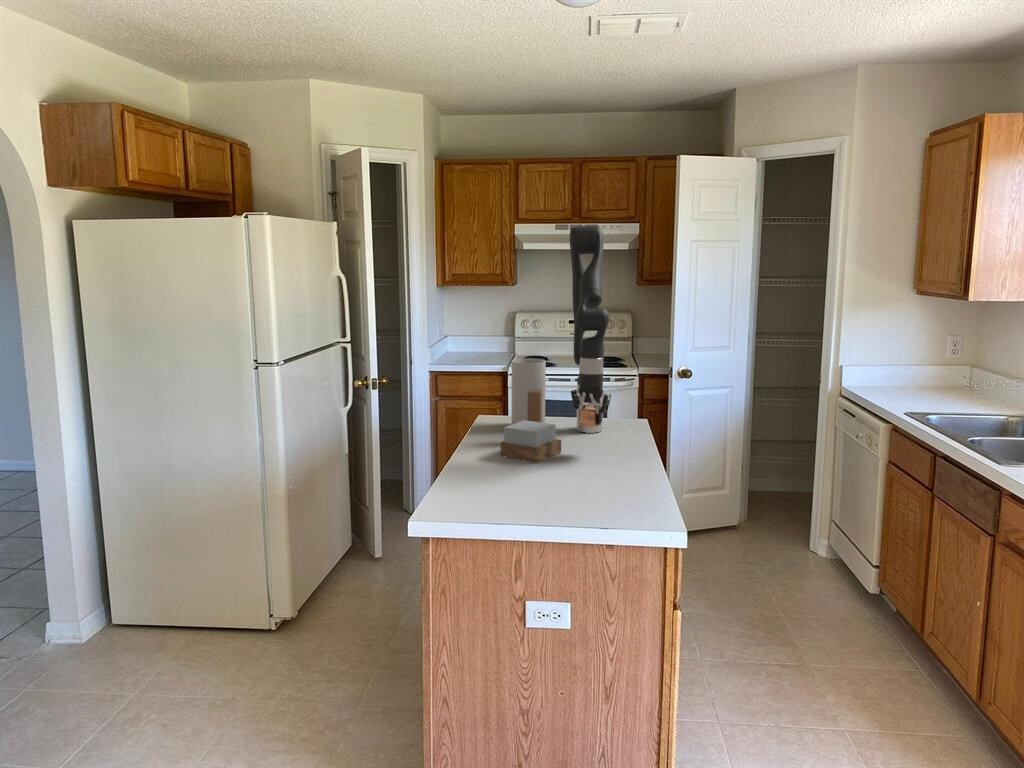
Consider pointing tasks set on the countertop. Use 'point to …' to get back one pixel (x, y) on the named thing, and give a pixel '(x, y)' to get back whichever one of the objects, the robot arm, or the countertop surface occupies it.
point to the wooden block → (535, 406)
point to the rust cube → (588, 417)
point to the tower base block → (531, 451)
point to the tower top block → (530, 433)
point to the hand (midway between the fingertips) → (590, 423)
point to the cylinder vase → (526, 385)
